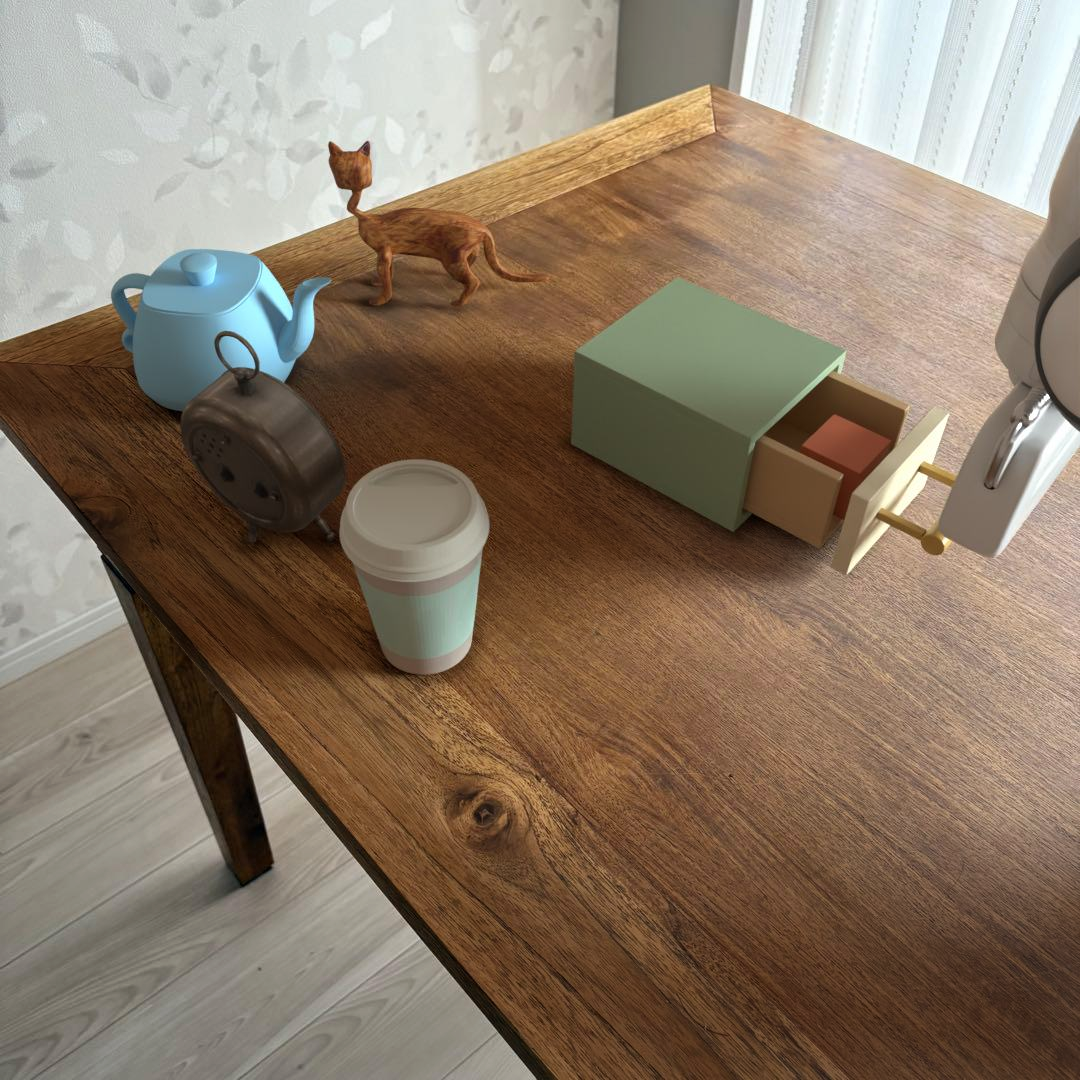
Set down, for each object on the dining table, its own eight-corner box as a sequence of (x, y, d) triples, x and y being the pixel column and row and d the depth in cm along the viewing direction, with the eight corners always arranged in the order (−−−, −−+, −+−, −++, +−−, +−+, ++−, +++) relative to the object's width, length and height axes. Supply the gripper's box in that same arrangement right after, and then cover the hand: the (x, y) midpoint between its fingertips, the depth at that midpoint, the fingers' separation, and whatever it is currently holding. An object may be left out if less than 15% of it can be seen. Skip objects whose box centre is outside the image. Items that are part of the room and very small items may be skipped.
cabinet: (823, 443, 84) (847, 350, 78) (733, 532, 78) (751, 438, 72) (667, 367, 91) (677, 276, 85) (570, 444, 84) (574, 350, 78)
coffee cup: (518, 621, 72) (517, 484, 63) (444, 714, 67) (432, 579, 58) (410, 571, 75) (394, 434, 66) (331, 657, 70) (303, 520, 61)
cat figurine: (547, 270, 101) (550, 124, 91) (551, 311, 96) (554, 162, 87) (349, 273, 100) (329, 127, 91) (343, 315, 96) (322, 166, 86)
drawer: (987, 517, 78) (1018, 443, 73) (912, 611, 71) (940, 537, 67) (763, 409, 86) (777, 336, 81) (678, 486, 80) (688, 412, 75)
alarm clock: (360, 532, 77) (330, 339, 66) (309, 580, 74) (268, 386, 63) (243, 474, 81) (195, 283, 70) (189, 518, 78) (131, 325, 67)
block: (877, 488, 78) (891, 440, 75) (846, 521, 76) (860, 473, 73) (822, 461, 80) (834, 413, 77) (790, 492, 78) (801, 445, 74)
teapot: (305, 321, 77) (58, 297, 78) (325, 439, 84) (99, 415, 86) (353, 228, 85) (130, 208, 87) (367, 343, 93) (162, 323, 95)
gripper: (1074, 455, 52) (985, 641, 62) (1206, 275, 64) (1113, 457, 73) (949, 401, 55) (883, 587, 65) (1097, 237, 66) (1021, 417, 76)
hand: (1006, 517), depth 69 cm, fingers closed
